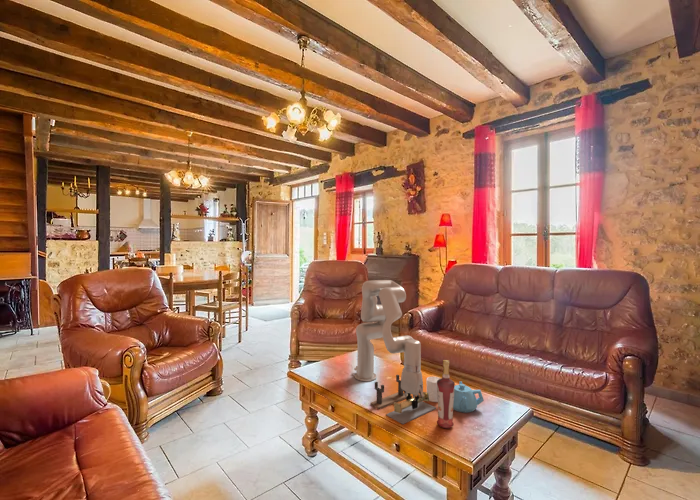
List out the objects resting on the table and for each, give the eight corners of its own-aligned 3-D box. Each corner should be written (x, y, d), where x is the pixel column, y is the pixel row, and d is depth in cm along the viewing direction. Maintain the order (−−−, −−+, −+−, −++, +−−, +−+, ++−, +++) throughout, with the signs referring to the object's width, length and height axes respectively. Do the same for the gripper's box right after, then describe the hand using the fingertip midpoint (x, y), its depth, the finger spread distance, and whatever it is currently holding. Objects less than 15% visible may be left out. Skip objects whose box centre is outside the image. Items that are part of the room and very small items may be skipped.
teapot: (463, 418, 155) (463, 394, 155) (438, 404, 168) (439, 382, 168) (485, 409, 163) (485, 387, 163) (460, 397, 176) (460, 376, 176)
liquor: (455, 431, 144) (456, 364, 143) (437, 429, 145) (437, 363, 145) (453, 422, 151) (453, 358, 151) (435, 420, 152) (436, 357, 152)
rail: (400, 413, 152) (399, 404, 153) (394, 411, 155) (393, 402, 156) (429, 400, 164) (428, 392, 165) (423, 399, 167) (421, 391, 168)
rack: (370, 404, 167) (370, 383, 167) (400, 393, 180) (400, 373, 180) (378, 409, 162) (379, 387, 162) (409, 397, 175) (409, 376, 175)
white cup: (442, 403, 169) (443, 383, 169) (426, 401, 171) (426, 381, 170) (441, 396, 177) (442, 377, 176) (425, 395, 178) (426, 375, 178)
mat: (386, 415, 157) (386, 413, 157) (419, 401, 171) (419, 399, 171) (402, 424, 149) (402, 423, 149) (436, 408, 163) (436, 407, 163)
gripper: (393, 364, 164) (393, 402, 164) (420, 374, 151) (420, 416, 151) (404, 360, 168) (404, 398, 169) (431, 370, 156) (431, 411, 156)
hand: (411, 406), depth 160 cm, fingers closed on rail, 2 cm apart
